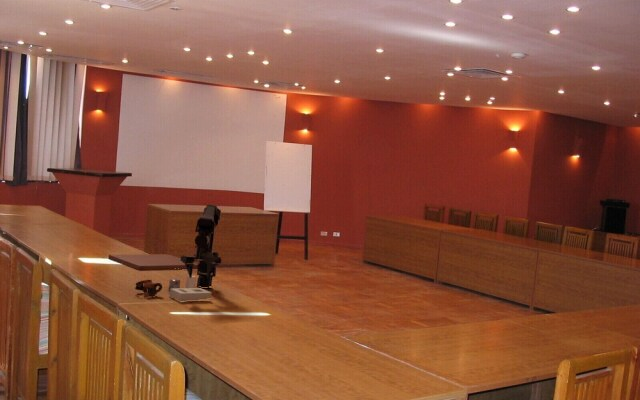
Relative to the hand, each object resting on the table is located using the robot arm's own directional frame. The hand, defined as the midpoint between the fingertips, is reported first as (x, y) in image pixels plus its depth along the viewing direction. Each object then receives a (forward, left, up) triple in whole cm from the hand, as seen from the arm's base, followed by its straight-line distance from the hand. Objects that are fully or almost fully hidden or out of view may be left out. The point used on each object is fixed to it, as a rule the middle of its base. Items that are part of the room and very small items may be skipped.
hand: (199, 277), depth 323 cm
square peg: (-4, -13, -10) cm, 17 cm away
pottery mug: (+20, -10, -10) cm, 24 cm away
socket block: (+3, 0, -10) cm, 11 cm away
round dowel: (+4, -14, -10) cm, 18 cm away
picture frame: (-21, -85, -11) cm, 88 cm away
